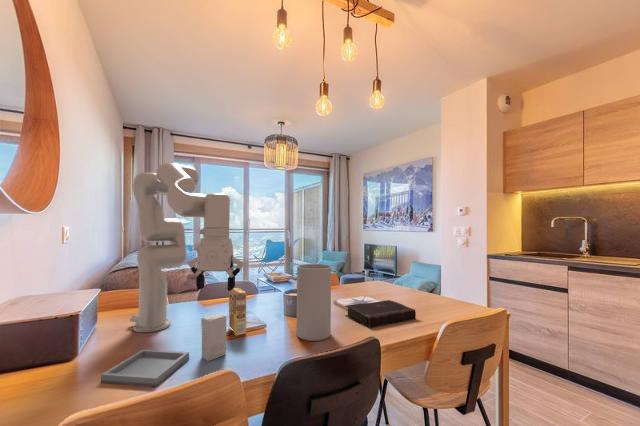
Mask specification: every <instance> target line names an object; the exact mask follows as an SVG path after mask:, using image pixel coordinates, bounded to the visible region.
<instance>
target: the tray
mask: <svg viewBox="0 0 640 426" xmlns="http://www.w3.org/2000/svg"><path fill="white" fill-rule="evenodd" d="M189 360H190V352H189V351H175V350H157V349H154V350H153V349H141V350H139V351H138V352H136V353H135V354H133V355H130V356H129V357H128V358H126V359H125V360H124V359H123V361H121V362H120V363H118V364H116V365H115V366H113V367H112V368H109V369H107V370H106V371H105V372H102V373H101V374H100V383H101V384H103V383H104V384H115V385H125V386H126V385H129V386H142V387H143V386H144V387H158V385H159V384H161V383H162V382H164V381H165V380H166V379H167V378H168V377H169V376H171V375H172V374H173V373H174V372H176V370H178V369H179V368H180V367H181V366H183V365H184V364H185V363H186V362H187V361H189Z"/></svg>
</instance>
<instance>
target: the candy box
mask: <svg viewBox="0 0 640 426" xmlns="http://www.w3.org/2000/svg"><path fill="white" fill-rule="evenodd" d="M229 326H230V327H231V328H232V329H233V330H234V333H235V334H234V333H233V334H234V335H235V336H240V335H245V334H247V291H244V290H243V289H241V288H240V287H234V289H232V290H231V291H228V327H229Z"/></svg>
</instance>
